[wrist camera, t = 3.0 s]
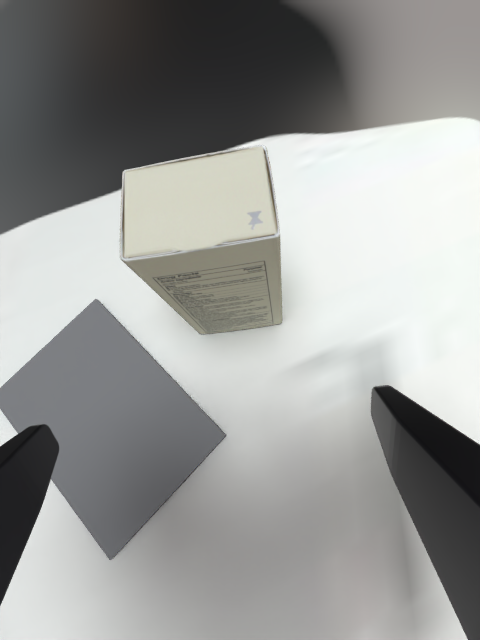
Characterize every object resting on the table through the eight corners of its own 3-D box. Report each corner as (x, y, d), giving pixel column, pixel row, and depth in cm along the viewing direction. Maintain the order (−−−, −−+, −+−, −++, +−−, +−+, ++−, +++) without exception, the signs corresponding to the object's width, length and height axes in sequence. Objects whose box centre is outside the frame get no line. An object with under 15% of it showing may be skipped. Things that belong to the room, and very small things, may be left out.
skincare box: (275, 269, 25) (275, 138, 13) (283, 325, 23) (290, 235, 12) (191, 281, 25) (117, 164, 14) (194, 336, 24) (116, 260, 12)
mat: (226, 435, 22) (225, 435, 21) (113, 557, 20) (110, 560, 20) (98, 300, 26) (95, 298, 25) (-5, 396, 24) (-9, 396, 24)
